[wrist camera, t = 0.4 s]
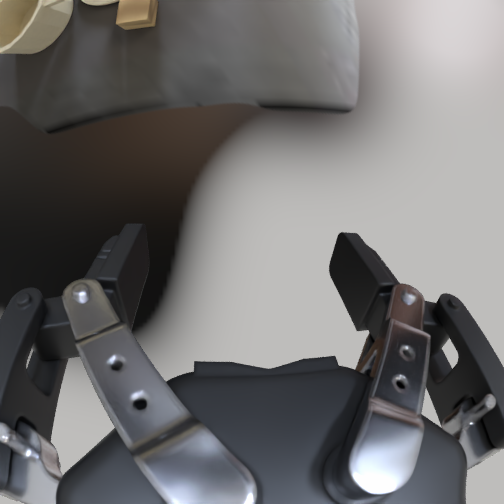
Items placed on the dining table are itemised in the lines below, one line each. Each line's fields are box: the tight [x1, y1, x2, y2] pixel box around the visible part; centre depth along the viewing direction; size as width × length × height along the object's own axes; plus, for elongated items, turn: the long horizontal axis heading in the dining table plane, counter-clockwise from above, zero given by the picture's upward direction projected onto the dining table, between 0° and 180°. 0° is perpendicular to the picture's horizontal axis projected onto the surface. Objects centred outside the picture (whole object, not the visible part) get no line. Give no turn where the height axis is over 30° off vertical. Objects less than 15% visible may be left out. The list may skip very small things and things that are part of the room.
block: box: [116, 0, 158, 30], centre depth 21 cm, size 4×4×4 cm
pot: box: [0, 0, 73, 54], centre depth 14 cm, size 11×17×8 cm
